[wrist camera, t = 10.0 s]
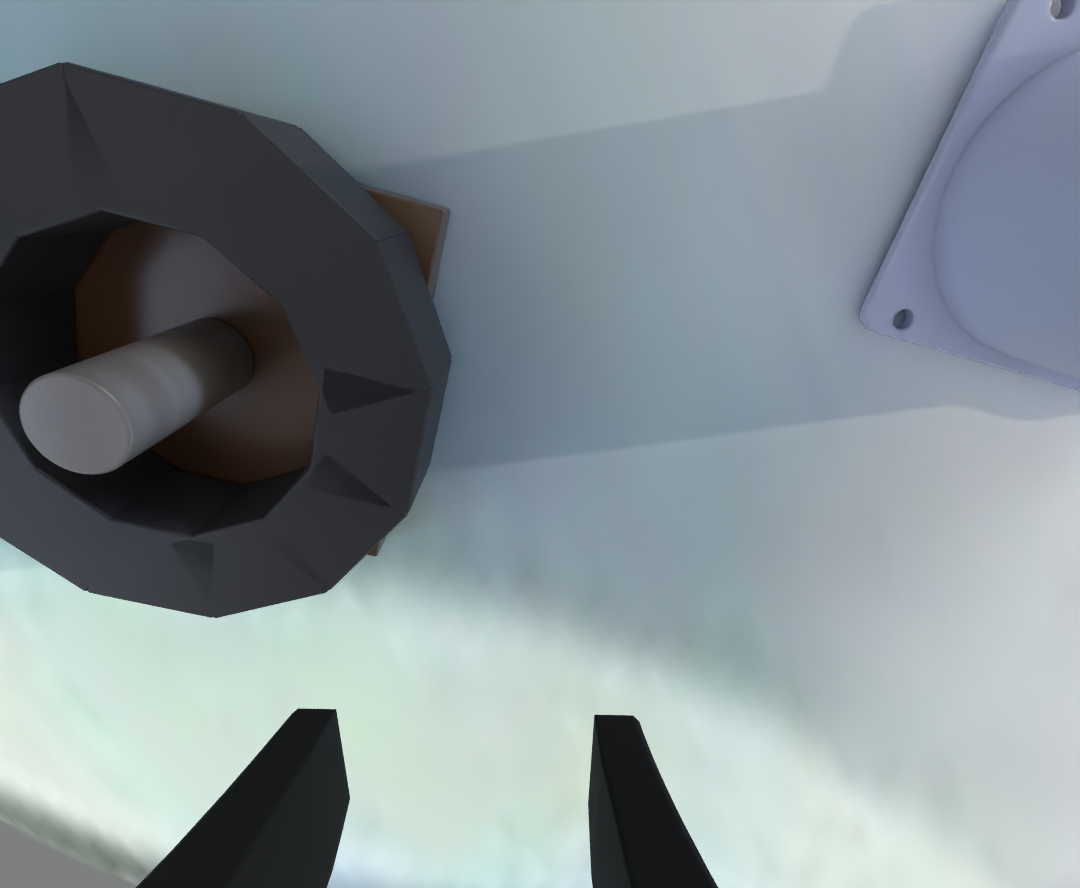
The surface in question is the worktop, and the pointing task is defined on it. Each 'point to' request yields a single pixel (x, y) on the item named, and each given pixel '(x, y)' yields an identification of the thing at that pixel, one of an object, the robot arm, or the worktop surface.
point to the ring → (273, 264)
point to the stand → (189, 359)
